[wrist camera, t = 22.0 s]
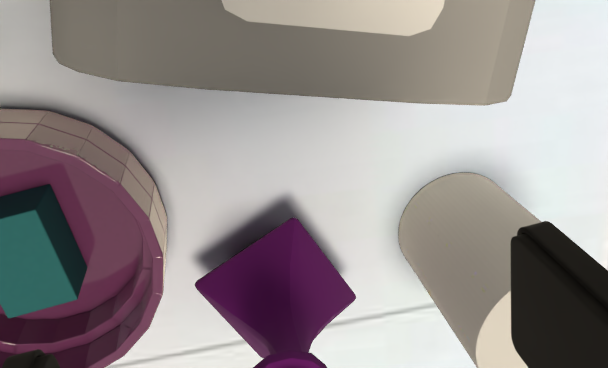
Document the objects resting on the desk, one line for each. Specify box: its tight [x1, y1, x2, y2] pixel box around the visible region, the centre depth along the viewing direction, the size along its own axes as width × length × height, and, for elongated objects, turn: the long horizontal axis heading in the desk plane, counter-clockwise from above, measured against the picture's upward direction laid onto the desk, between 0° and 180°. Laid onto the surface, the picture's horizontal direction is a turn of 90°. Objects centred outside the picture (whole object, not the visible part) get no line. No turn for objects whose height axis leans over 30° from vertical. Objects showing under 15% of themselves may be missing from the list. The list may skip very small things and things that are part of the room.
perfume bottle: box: [195, 217, 356, 368], centre depth 30 cm, size 8×8×18 cm
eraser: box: [0, 184, 87, 318], centre depth 33 cm, size 6×4×4 cm, turn 12°
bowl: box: [0, 109, 167, 368], centre depth 32 cm, size 15×15×6 cm
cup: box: [398, 173, 541, 368], centre depth 35 cm, size 8×8×12 cm
